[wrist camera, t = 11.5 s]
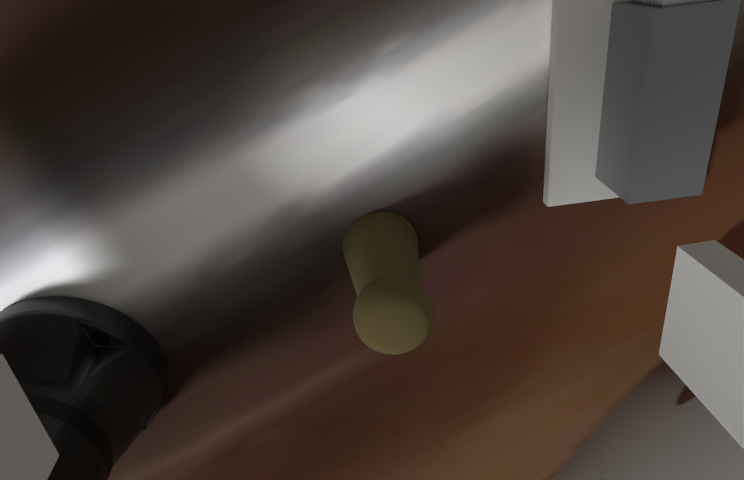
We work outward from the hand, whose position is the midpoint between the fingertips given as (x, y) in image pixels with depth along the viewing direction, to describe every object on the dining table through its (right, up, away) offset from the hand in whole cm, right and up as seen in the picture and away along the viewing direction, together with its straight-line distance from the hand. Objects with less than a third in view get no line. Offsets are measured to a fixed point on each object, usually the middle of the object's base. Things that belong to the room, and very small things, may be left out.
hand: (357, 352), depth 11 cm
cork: (+1, +2, +32) cm, 32 cm away
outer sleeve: (+19, +13, +27) cm, 36 cm away
